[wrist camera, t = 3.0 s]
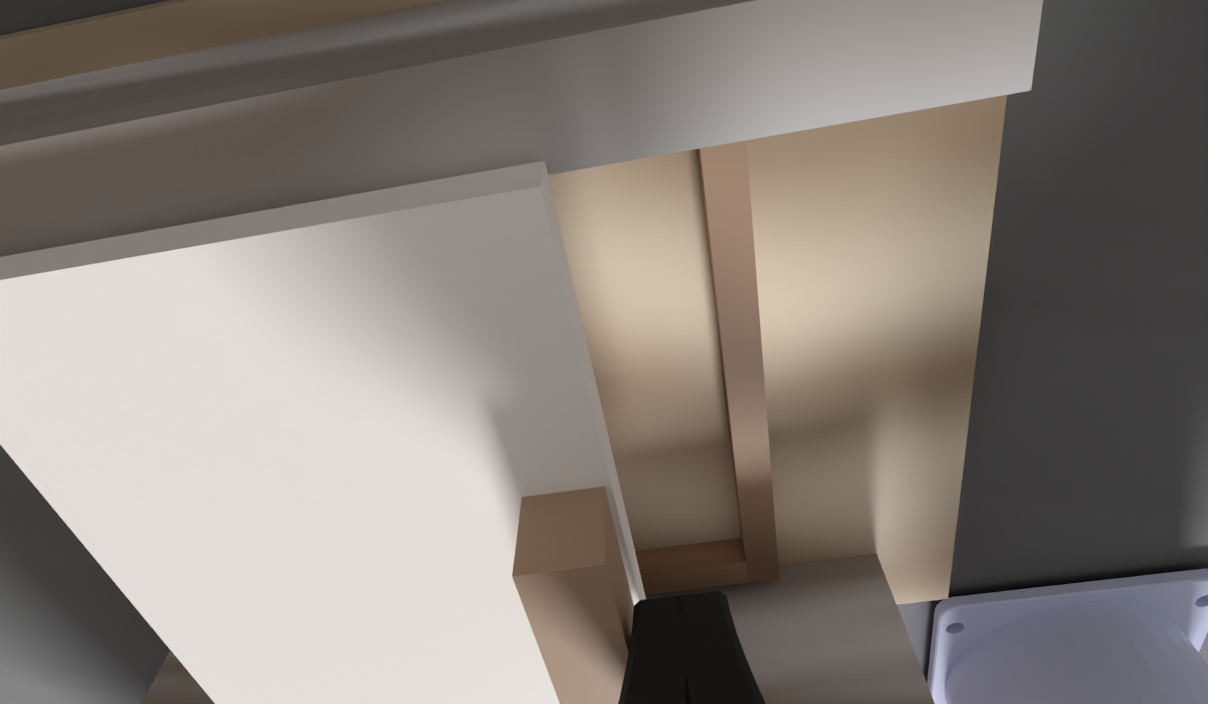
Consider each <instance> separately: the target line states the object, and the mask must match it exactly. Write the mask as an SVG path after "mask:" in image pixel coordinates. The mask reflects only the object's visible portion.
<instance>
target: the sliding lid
mask: <svg viewBox="0 0 1208 704" xmlns="http://www.w3.org/2000/svg"><path fill="white" fill-rule="evenodd" d="M0 445H1V446H2V447H3V448H4V450H5V451H6V452H7V453H8V454H9V456H10V457H11V458H12V459H13V460H14V462H15V463H16V464H17V465H18V467H19V468H20V469H21V470H22V471H23V473H24V474H25V475H26V476H27V477H28V479H29V480H30V481H31V482H32V483H33V485H34V486H35V487H36V488H37V489H38V491H39V492H40V493H41V494H42V495H43V497H44V498H45V499H46V500H47V502H48V503H49V504H50V505H51V506H52V508H53V509H54V510H55V511H56V512H57V514H58V515H59V516H60V517H61V518H62V520H63V521H64V522H65V523H66V524H67V526H68V527H69V528H70V529H71V530H72V532H73V533H74V534H75V535H76V537H77V538H78V539H79V540H80V541H81V543H82V544H83V545H84V546H85V547H86V549H87V550H88V551H89V552H90V553H91V555H92V556H93V557H94V558H95V559H96V561H97V562H98V563H99V564H100V565H101V567H102V568H103V569H104V570H105V572H106V573H107V574H108V575H109V576H110V578H111V579H112V580H113V581H114V582H115V584H116V585H117V586H118V587H119V588H120V590H121V591H122V592H123V593H124V594H125V596H126V597H127V598H128V599H129V600H130V602H131V603H132V604H133V605H134V607H135V608H136V609H137V610H138V611H139V613H140V614H141V615H142V616H143V617H144V619H145V620H146V621H147V622H148V623H149V625H150V626H151V627H152V628H153V629H154V631H155V632H156V633H157V634H158V635H159V637H160V638H161V639H162V640H163V642H164V643H165V644H166V645H167V646H168V648H169V649H170V650H171V651H172V652H173V654H174V655H175V656H176V657H177V658H178V660H179V661H180V662H181V663H182V664H183V666H184V667H185V668H186V669H187V670H188V672H189V673H190V674H191V675H192V677H193V678H194V679H195V680H196V681H197V683H198V684H199V685H200V686H201V687H202V689H203V690H204V691H205V692H206V693H207V695H208V696H209V697H210V698H211V699H212V701H213V702H214V703H215V704H618V702H619V698H620V693H621V688H622V684H623V679H624V674H625V669H626V664H627V658H628V652H629V646H630V639H631V632H632V623H633V610H634V605H635V604H636V603H637V602H639V601H640V600H644V599H646V597H645V593H644V588H643V584H642V580H641V575H640V571H639V567H638V562H637V558H636V554H635V549H634V545H633V541H632V536H631V532H630V528H629V523H628V519H627V515H626V510H625V506H624V502H623V497H622V493H621V489H620V484H619V480H618V476H617V471H616V467H615V463H614V458H613V454H612V450H611V445H610V441H609V437H608V432H607V428H606V424H605V419H604V415H603V411H602V406H601V402H600V398H599V393H598V389H597V385H596V380H595V376H594V372H593V367H592V363H591V359H590V354H589V350H588V346H587V341H586V337H585V333H584V328H583V324H582V320H581V316H580V311H579V307H578V303H577V298H576V294H575V290H574V285H573V281H572V277H571V272H570V268H569V264H568V259H567V255H566V251H565V246H564V242H563V238H562V233H561V229H560V225H559V220H558V216H557V212H556V207H555V203H554V199H553V194H552V190H551V186H550V181H549V177H548V173H547V168H546V164H545V161H540V162H534V163H528V164H523V165H517V166H511V167H506V168H500V169H494V170H489V171H483V172H477V173H472V174H466V175H460V176H455V177H449V178H443V179H438V180H432V181H427V182H421V183H415V184H410V185H404V186H398V187H393V188H387V189H381V190H376V191H370V192H364V193H359V194H353V195H347V196H342V197H336V198H330V199H325V200H319V201H313V202H308V203H302V204H297V205H291V206H285V207H280V208H274V209H268V210H263V211H257V212H251V213H246V214H240V215H234V216H229V217H223V218H217V219H212V220H206V221H200V222H195V223H189V224H183V225H178V226H172V227H166V228H161V229H155V230H150V231H144V232H138V233H133V234H127V235H121V236H116V237H110V238H104V239H99V240H93V241H87V242H82V243H76V244H70V245H65V246H59V247H53V248H48V249H42V250H36V251H31V252H25V253H20V254H14V255H8V256H3V257H0Z"/></svg>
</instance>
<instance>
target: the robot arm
mask: <svg viewBox="0 0 1208 704" xmlns="http://www.w3.org/2000/svg"><path fill="white" fill-rule="evenodd" d="M1207 632H1208V569H1196V570H1187V571H1178V572H1169V573H1160V574H1151V575H1142V576H1133V577H1125V578H1116V579H1107V580H1098V581H1089V582H1080V583H1071V584H1062V585H1053V586H1045V587H1036V588H1027V589H1018V590H1009V591H1000V592H991V593H982V594H974V595H965V596H956V597H950V598H948V599H944V600H942V601H940V602H939V603H938V604H937V606H936V608H935V612H934V621H933V631H932V641H931V650H930V660H929V670H928V679H927V685H928V688H929V690H930V693H931V695H932V698H933V700H934V703H935V704H1208V665H1207V663H1206V662H1205V661H1204V659H1203V658H1202V657H1201V655H1200V654H1199V650H1200V648H1201V646H1202V644H1203V641H1204V639H1205V637H1206V634H1207ZM618 704H766V703H765V701H764V699H763V696H762V694H761V692H760V690H759V688H758V685H757V683H756V681H755V678H754V676H753V673H752V671H751V669H750V666H749V664H748V661H747V659H746V656H745V654H744V651H743V648H742V646H741V643H740V640H739V637H738V635H737V632H736V629H735V625H734V622H733V619H732V615H731V612H730V608H729V604H728V599H727V595H725V594H723V593H721V592H720V591H713V592H705V593H696V594H687V595H679V596H670V597H661V598H653V599H644V600H640V601H639V602H637V603H636V604H635V605H634V610H633V623H632V632H631V639H630V646H629V652H628V658H627V664H626V669H625V674H624V679H623V684H622V688H621V693H620V698H619V702H618Z"/></svg>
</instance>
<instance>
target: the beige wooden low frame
mask: <svg viewBox="0 0 1208 704" xmlns="http://www.w3.org/2000/svg"><path fill="white" fill-rule="evenodd" d="M1042 5H1043V0H169V1H164V2H159V3H155V4H150V5H145V6H140V7H135V8H131V9H126V10H121V11H116V12H111V13H107V14H102V15H97V16H92V17H87V18H83V19H78V20H73V21H68V22H64V23H59V24H54V25H49V26H44V27H40V28H35V29H30V30H25V31H20V32H16V33H11V34H6V35H1V36H0V257H3V256H8V255H14V254H20V253H25V252H31V251H36V250H42V249H48V248H53V247H59V246H65V245H70V244H76V243H82V242H87V241H93V240H99V239H104V238H110V237H116V236H121V235H127V234H133V233H138V232H144V231H150V230H155V229H161V228H166V227H172V226H178V225H183V224H189V223H195V222H200V221H206V220H212V219H217V218H223V217H229V216H234V215H240V214H246V213H251V212H257V211H263V210H268V209H274V208H280V207H285V206H291V205H297V204H302V203H308V202H313V201H319V200H325V199H330V198H336V197H342V196H347V195H353V194H359V193H364V192H370V191H376V190H381V189H387V188H393V187H398V186H404V185H410V184H415V183H421V182H427V181H432V180H438V179H443V178H449V177H455V176H460V175H466V174H472V173H477V172H483V171H489V170H494V169H500V168H506V167H511V166H517V165H523V164H528V163H534V162H540V161H545V164H546V168H547V173H548V177H549V181H550V186H551V190H552V194H553V199H554V203H555V207H556V212H557V216H558V220H559V225H560V229H561V233H562V238H563V242H564V246H565V251H566V255H567V259H568V264H569V268H570V272H571V277H572V281H573V285H574V290H575V294H576V298H577V303H578V307H579V311H580V316H581V320H582V324H583V328H584V333H585V337H586V341H587V346H588V350H589V354H590V359H591V363H592V367H593V372H594V376H595V380H596V385H597V389H598V393H599V398H600V402H601V406H602V411H603V415H604V419H605V424H606V428H607V432H608V437H609V441H610V445H611V450H612V454H613V458H614V463H615V467H616V471H617V476H618V480H619V484H620V489H621V493H622V497H623V502H624V506H625V510H626V515H627V519H628V523H629V528H630V532H631V536H632V541H633V545H634V549H635V554H636V558H637V562H638V567H639V571H640V575H641V580H642V584H643V588H644V593H645V597H646V599H653V598H661V597H670V596H679V595H687V594H696V593H705V592H713V591H720V592H721V593H723V594H725V595H727V599H728V604H729V608H730V612H731V615H732V619H733V622H734V625H735V629H736V632H737V635H738V637H739V640H740V643H741V646H742V648H743V651H744V654H745V656H746V659H747V661H748V664H749V666H750V669H751V671H752V673H753V676H754V678H755V681H756V683H757V685H758V688H759V690H760V692H761V694H762V696H763V699H764V701H765V703H766V704H935V703H934V700H933V698H932V695H931V693H930V690H929V688H928V685H927V682H926V680H925V677H924V675H923V672H922V669H921V667H920V664H919V662H918V659H917V656H916V654H915V651H914V649H913V646H912V644H911V641H910V638H909V636H908V633H907V631H906V628H905V625H904V623H903V620H902V618H901V615H900V612H899V610H898V607H897V604H906V603H915V602H924V601H933V600H942V599H948V595H949V586H950V578H951V569H952V561H953V552H954V544H955V535H956V527H957V518H958V510H959V501H960V493H961V484H962V476H963V467H964V458H965V450H966V441H967V433H968V424H969V416H970V407H971V399H972V390H973V382H974V373H975V365H976V356H977V348H978V339H979V331H980V322H981V314H982V305H983V297H984V288H985V280H986V271H987V263H988V254H989V246H990V237H991V229H992V220H993V212H994V203H995V195H996V186H997V178H998V169H999V161H1000V152H1001V144H1002V135H1003V127H1004V118H1005V110H1006V101H1007V95H1008V94H1014V93H1020V92H1025V91H1031V87H1032V80H1033V72H1034V65H1035V57H1036V50H1037V43H1038V35H1039V28H1040V20H1041V13H1042ZM141 704H215V703H214V702H213V701H212V699H211V698H210V697H209V696H208V695H207V693H206V692H205V691H204V690H203V689H202V687H201V686H200V685H199V684H198V683H197V681H196V680H195V679H194V678H193V677H192V675H191V674H190V673H189V672H188V670H187V669H186V668H185V667H184V666H183V664H182V663H181V662H180V661H179V660H178V658H177V657H176V656H175V655H174V654H173V652H172V651H171V650H170V651H169V653H168V655H167V657H166V659H165V660H164V662H163V664H162V666H161V668H160V670H159V672H158V673H157V675H156V677H155V679H154V681H153V683H152V685H151V687H150V688H149V690H148V692H147V694H146V696H145V698H144V700H143V701H142V703H141Z"/></svg>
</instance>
